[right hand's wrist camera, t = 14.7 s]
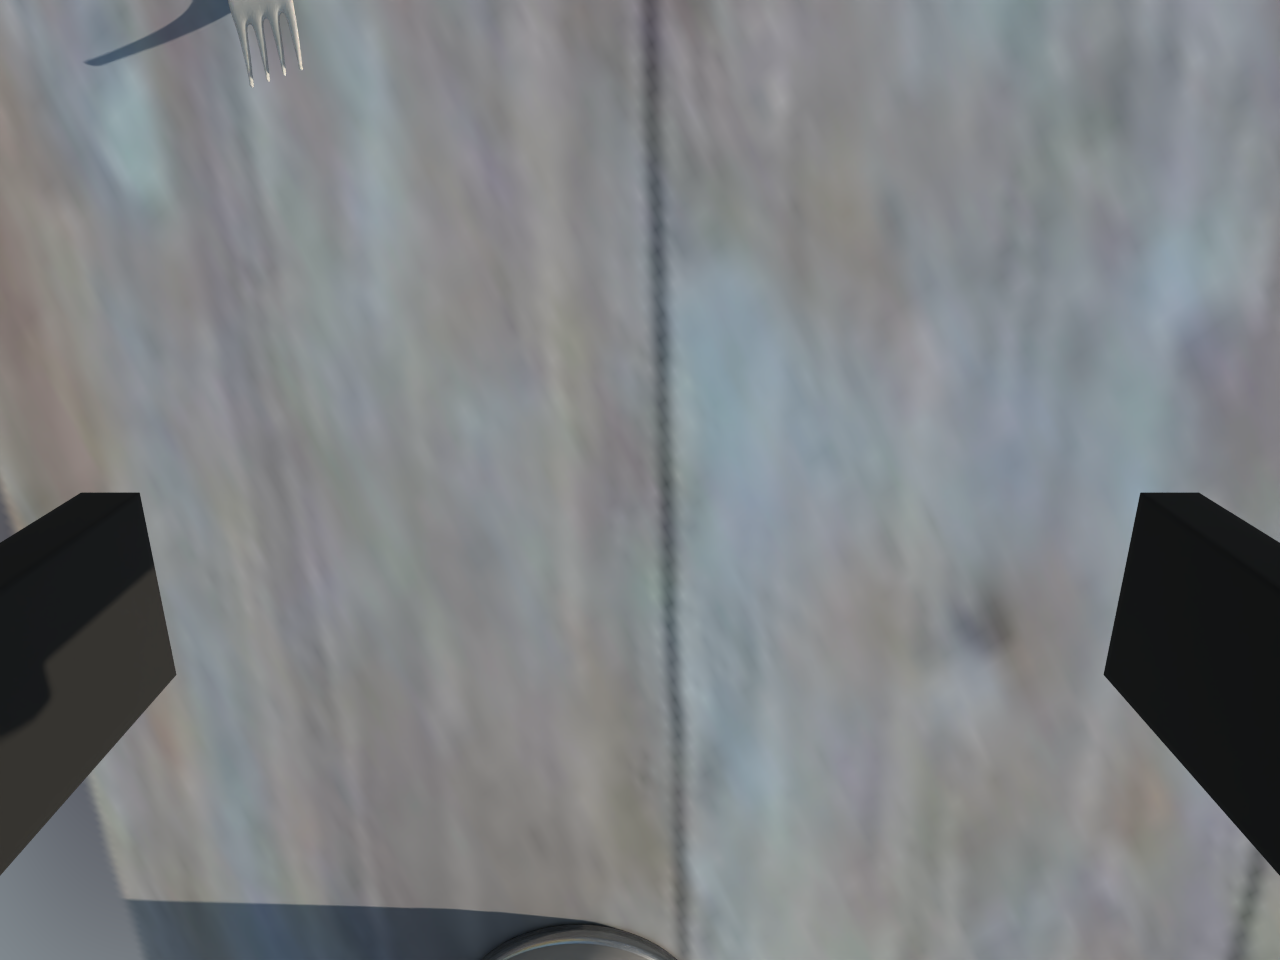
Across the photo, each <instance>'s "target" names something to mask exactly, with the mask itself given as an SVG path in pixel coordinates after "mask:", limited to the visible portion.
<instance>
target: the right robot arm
mask: <svg viewBox="0 0 1280 960" xmlns="http://www.w3.org/2000/svg"><path fill="white" fill-rule="evenodd" d="M175 676H176V671H175V666H174V661H173V656H172V651H171V646H170V641H169V636H168V631H167V626H166V621H165V616H164V611H163V606H162V601H161V596H160V592H159V587H158V582H157V577H156V572H155V567H154V562H153V557H152V552H151V547H150V542H149V537H148V532H147V527H146V522H145V517H144V512H143V507H142V502H141V497H140V493H80V494H78V495H77V496H75V497H73V498H72V499H70V500H69V501H67V502H65V503H64V504H62V505H61V506H59V507H57V508H56V509H54V510H52V511H51V512H49V513H48V514H46V515H44V516H43V517H41V518H40V519H38V520H36V521H35V522H33V523H32V524H30V525H28V526H27V527H25V528H23V529H22V530H20V531H19V532H17V533H15V534H14V535H12V536H11V537H9V538H7V539H6V540H4V541H2V542H1V543H0V875H1V874H2V873H3V872H4V871H5V869H6V868H7V867H8V866H9V865H10V864H11V863H12V861H13V860H14V859H15V858H16V857H17V856H18V855H19V853H20V852H21V851H22V850H23V849H24V848H25V847H26V845H27V844H28V843H29V842H30V841H31V840H32V839H33V838H34V836H35V835H36V834H37V833H38V832H39V831H40V829H41V828H42V827H43V826H44V825H45V824H46V823H47V822H48V820H49V819H50V818H51V817H52V816H53V815H54V814H55V812H56V811H57V810H58V809H59V808H60V807H61V806H62V804H63V803H64V802H65V801H66V800H67V799H68V798H69V796H70V795H71V794H72V793H73V792H74V791H75V790H76V788H77V787H78V786H79V785H80V784H81V783H82V782H83V781H84V779H85V778H86V777H87V776H88V775H89V774H90V773H91V771H92V770H93V769H94V768H95V767H96V766H97V765H98V763H99V762H100V761H101V760H102V759H103V758H104V757H105V755H106V754H107V753H108V752H109V751H110V750H111V749H112V747H113V746H114V745H115V744H116V743H117V742H118V741H119V739H120V738H121V737H122V736H123V735H124V734H125V733H126V731H127V730H128V729H129V728H130V727H131V726H132V725H133V724H134V722H135V721H136V720H137V719H138V718H139V717H140V716H141V714H142V713H143V712H144V711H145V710H146V709H147V708H148V706H149V705H150V704H151V703H152V702H153V701H154V700H155V698H156V697H157V696H158V695H159V694H160V693H161V692H162V690H163V689H164V688H165V687H166V686H167V685H168V684H169V682H170V681H171V680H172V679H173V678H174V677H175ZM1104 676H1105V677H1106V678H1107V679H1108V680H1109V681H1110V682H1111V684H1112V685H1113V686H1114V687H1115V688H1116V689H1117V690H1118V692H1119V693H1120V694H1121V695H1122V696H1123V697H1124V698H1125V700H1126V701H1127V702H1128V703H1129V704H1130V705H1131V706H1132V708H1133V709H1134V710H1135V711H1136V712H1137V713H1138V714H1139V716H1140V717H1141V718H1142V719H1143V720H1144V721H1145V722H1146V724H1147V725H1148V726H1149V727H1150V728H1151V729H1152V730H1153V731H1154V733H1155V734H1156V735H1157V736H1158V737H1159V738H1160V739H1161V741H1162V742H1163V743H1164V744H1165V745H1166V746H1167V747H1168V749H1169V750H1170V751H1171V752H1172V753H1173V754H1174V755H1175V757H1176V758H1177V759H1178V760H1179V761H1180V762H1181V763H1182V765H1183V766H1184V767H1185V768H1186V769H1187V770H1188V771H1189V773H1190V774H1191V775H1192V776H1193V777H1194V778H1195V779H1196V781H1197V782H1198V783H1199V784H1200V785H1201V786H1202V787H1203V788H1204V790H1205V791H1206V792H1207V793H1208V794H1209V795H1210V796H1211V798H1212V799H1213V800H1214V801H1215V802H1216V803H1217V804H1218V806H1219V807H1220V808H1221V809H1222V810H1223V811H1224V812H1225V814H1226V815H1227V816H1228V817H1229V818H1230V819H1231V820H1232V822H1233V823H1234V824H1235V825H1236V826H1237V827H1238V828H1239V830H1240V831H1241V832H1242V833H1243V834H1244V835H1245V836H1246V838H1247V839H1248V840H1249V841H1250V842H1251V843H1252V844H1253V845H1254V847H1255V848H1256V849H1257V850H1258V851H1259V852H1260V853H1261V855H1262V856H1263V857H1264V858H1265V859H1266V860H1267V861H1268V863H1269V864H1270V865H1271V866H1272V867H1273V868H1274V869H1275V871H1276V872H1277V873H1278V874H1279V875H1280V543H1279V542H1278V541H1276V540H1274V539H1273V538H1271V537H1269V536H1268V535H1266V534H1265V533H1263V532H1261V531H1260V530H1258V529H1257V528H1255V527H1253V526H1252V525H1250V524H1248V523H1247V522H1245V521H1244V520H1242V519H1240V518H1239V517H1237V516H1236V515H1234V514H1232V513H1231V512H1229V511H1228V510H1226V509H1224V508H1223V507H1221V506H1219V505H1218V504H1216V503H1215V502H1213V501H1211V500H1210V499H1208V498H1207V497H1205V496H1203V495H1202V494H1200V493H1140V497H1139V502H1138V507H1137V512H1136V517H1135V522H1134V527H1133V532H1132V537H1131V542H1130V547H1129V552H1128V557H1127V562H1126V567H1125V572H1124V577H1123V582H1122V587H1121V592H1120V596H1119V601H1118V606H1117V611H1116V616H1115V621H1114V626H1113V631H1112V636H1111V641H1110V646H1109V651H1108V656H1107V661H1106V666H1105V671H1104ZM482 960H677V959H676V958H675V957H673V956H672V955H671V954H669V953H668V952H667V951H665V950H664V949H662V948H661V947H659V946H658V945H656V944H654V943H652V942H650V941H649V940H647V939H644V938H642V937H640V936H637V935H635V934H632V933H629V932H626V931H622V930H618V929H614V928H609V927H603V926H595V925H561V926H554V927H547V928H543V929H538V930H535V931H532V932H528V933H525V934H523V935H520V936H518V937H515V938H513V939H511V940H509V941H507V942H505V943H503V944H502V945H500V946H498V947H497V948H495V949H494V950H493V951H491V952H490V953H489V954H487V955H486V956H485V957H484V958H483V959H482Z"/></svg>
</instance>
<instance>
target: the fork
mask: <svg viewBox="0 0 1280 960" xmlns="http://www.w3.org/2000/svg"><path fill="white" fill-rule="evenodd" d="M228 3H229V7H230V11H231V14H232V17H233V20H234V23H235V26H236V28H237V32H238V35H239V39H240V43H241V47H242V51H243V55H244V59H245V63H246V67H247V71H248V76H249V81H250V86H251V87H254V85H253V76H252V66H251V57H250V49H249V42H248V35H247V26H248V25H249V24H251V25H252V26H253V28H254V30H255V33H256V37H257V41H258V45H259V49H260V53H261V57H262V61H263V65H264V69H265V73H266V78H267V80H268V81H270V78H269V68H268V59H267V51H266V43H265V36H264V29H263V21H264V19H265V18H267V19H268V20H269V22H270V24H271V27H272V31H273V35H274V38H275V42H276V46H277V50H278V54H279V58H280V62H281V66H282V71H283V74H284V76H286V69H285V60H284V51H283V44H282V36H281V30H280V22H279V16H280V14H281V13H284V14H285V16H286V18H287V21H288V24H289V28H290V32H291V36H292V40H293V43H294V47H295V51H296V55H297V59H298V64H299V69H300V70H303V68H302V60H301V52H300V44H299V36H298V29H297V23H296V17H295V11H294V5H293V0H228Z"/></svg>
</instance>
